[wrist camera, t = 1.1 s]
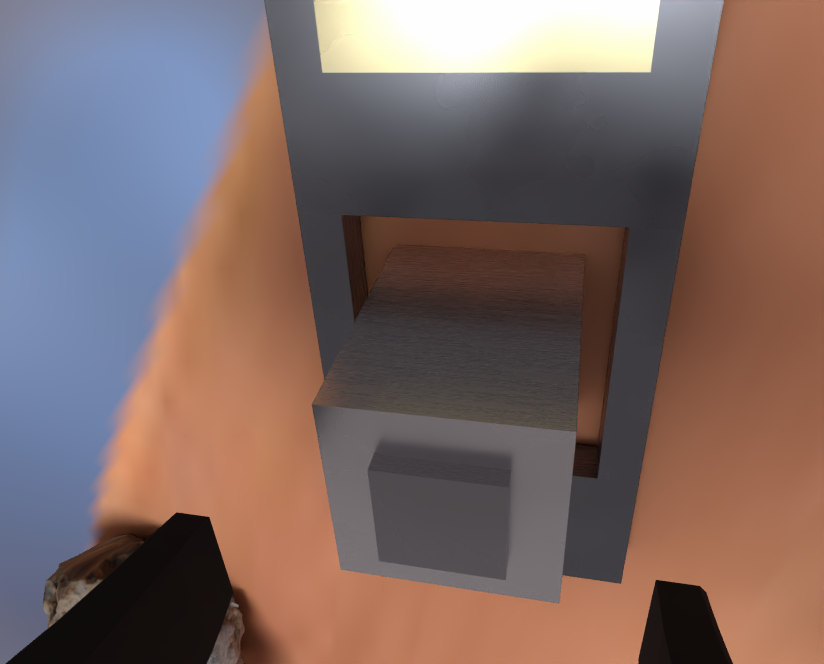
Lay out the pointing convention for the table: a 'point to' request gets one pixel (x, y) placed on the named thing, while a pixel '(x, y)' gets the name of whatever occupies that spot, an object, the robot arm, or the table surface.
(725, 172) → the table surface
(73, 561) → the rock
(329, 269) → the rail plate
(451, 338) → the grey upright block
